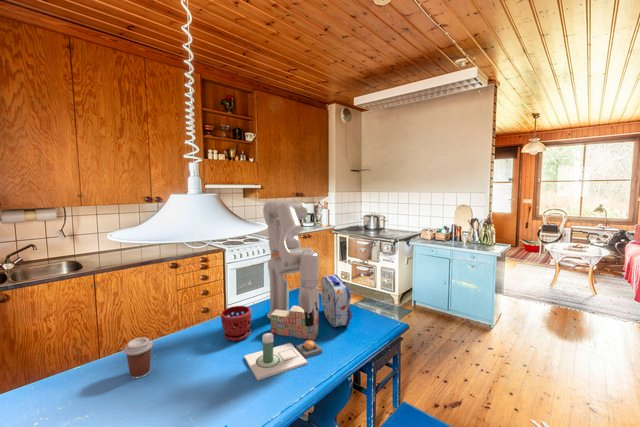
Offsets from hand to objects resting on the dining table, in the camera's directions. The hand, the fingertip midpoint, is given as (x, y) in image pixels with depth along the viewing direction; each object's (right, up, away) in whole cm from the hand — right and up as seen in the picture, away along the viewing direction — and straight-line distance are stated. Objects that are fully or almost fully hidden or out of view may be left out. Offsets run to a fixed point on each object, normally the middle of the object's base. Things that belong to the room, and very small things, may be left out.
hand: (309, 325), depth 128 cm
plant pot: (-33, -10, +13) cm, 37 cm away
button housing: (0, -11, +1) cm, 11 cm away
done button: (0, -10, +1) cm, 10 cm away
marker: (-16, -11, -8) cm, 20 cm away
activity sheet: (-13, -12, -6) cm, 19 cm away
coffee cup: (-61, -13, -14) cm, 64 cm away
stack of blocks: (-7, -10, +16) cm, 20 cm away
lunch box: (+12, -8, +31) cm, 34 cm away
